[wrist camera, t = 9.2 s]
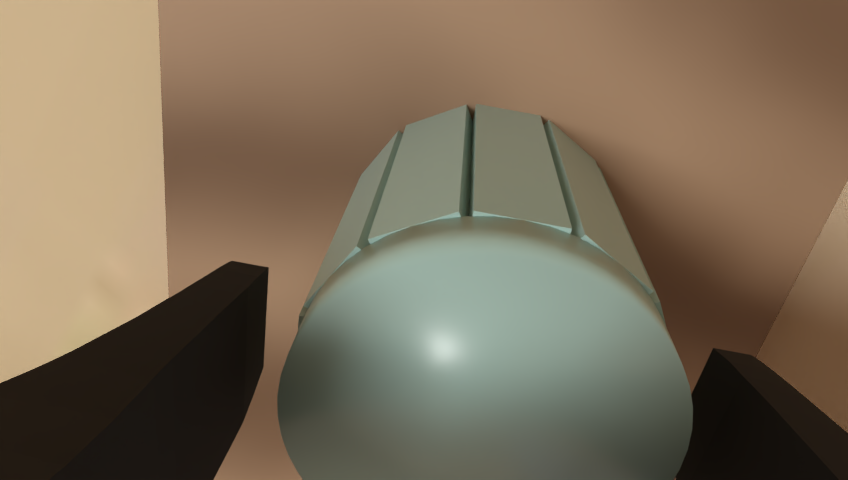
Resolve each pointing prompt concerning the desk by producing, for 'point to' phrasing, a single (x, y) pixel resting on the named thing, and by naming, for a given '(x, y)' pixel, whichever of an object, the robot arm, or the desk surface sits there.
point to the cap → (483, 320)
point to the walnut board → (519, 91)
